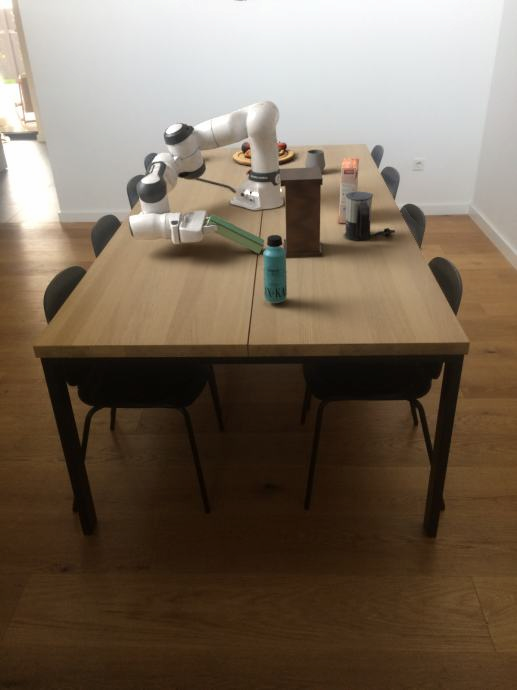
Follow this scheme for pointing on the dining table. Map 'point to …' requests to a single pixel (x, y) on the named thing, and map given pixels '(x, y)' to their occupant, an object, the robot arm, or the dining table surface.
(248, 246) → the green rectangular bar
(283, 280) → the beverage bottle
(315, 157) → the cup
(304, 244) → the walnut stand
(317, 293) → the dining table surface
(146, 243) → the dining table surface
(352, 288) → the dining table surface
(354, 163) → the cracker box
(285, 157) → the wooden plate
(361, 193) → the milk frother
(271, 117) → the robot arm
